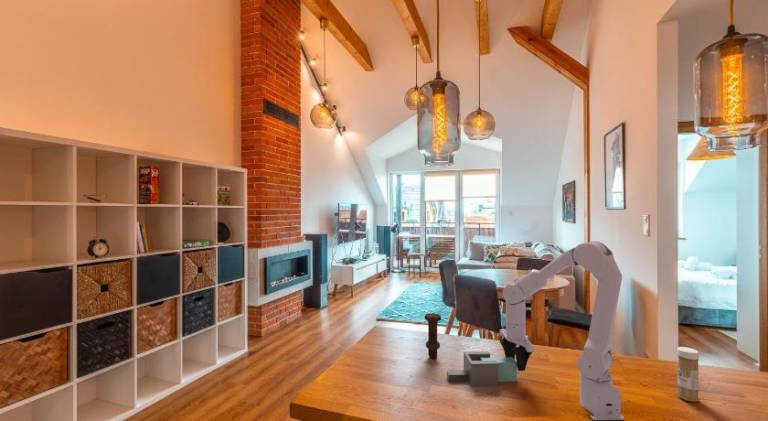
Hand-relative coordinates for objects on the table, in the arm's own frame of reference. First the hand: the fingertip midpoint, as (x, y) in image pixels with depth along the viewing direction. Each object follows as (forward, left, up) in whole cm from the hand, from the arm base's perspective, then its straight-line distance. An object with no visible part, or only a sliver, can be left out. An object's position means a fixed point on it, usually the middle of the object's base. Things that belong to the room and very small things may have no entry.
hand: (515, 366), depth 109 cm
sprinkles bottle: (-13, -43, -4) cm, 45 cm away
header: (0, +11, -4) cm, 12 cm away
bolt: (+16, +23, -4) cm, 28 cm away
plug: (0, +5, -4) cm, 7 cm away
